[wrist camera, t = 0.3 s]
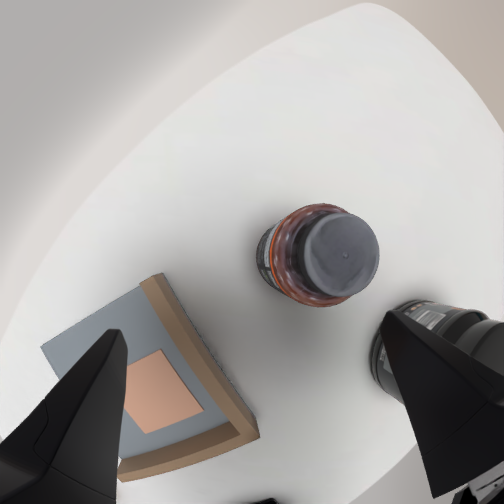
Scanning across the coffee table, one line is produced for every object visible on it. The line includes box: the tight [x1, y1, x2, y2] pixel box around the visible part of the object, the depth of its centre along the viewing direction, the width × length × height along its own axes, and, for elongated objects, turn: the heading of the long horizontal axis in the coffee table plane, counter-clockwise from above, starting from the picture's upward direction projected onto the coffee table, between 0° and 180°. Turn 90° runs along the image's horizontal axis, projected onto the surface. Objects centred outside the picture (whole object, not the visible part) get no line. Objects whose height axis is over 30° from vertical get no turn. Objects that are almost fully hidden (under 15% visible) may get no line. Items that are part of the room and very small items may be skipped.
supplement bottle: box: [256, 203, 379, 307], centre depth 18 cm, size 6×6×11 cm
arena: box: [41, 273, 260, 483], centre depth 20 cm, size 16×16×3 cm
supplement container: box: [372, 300, 504, 406], centre depth 19 cm, size 10×10×12 cm
